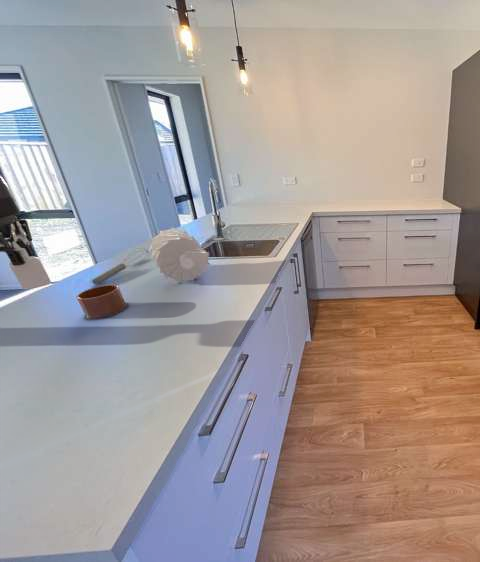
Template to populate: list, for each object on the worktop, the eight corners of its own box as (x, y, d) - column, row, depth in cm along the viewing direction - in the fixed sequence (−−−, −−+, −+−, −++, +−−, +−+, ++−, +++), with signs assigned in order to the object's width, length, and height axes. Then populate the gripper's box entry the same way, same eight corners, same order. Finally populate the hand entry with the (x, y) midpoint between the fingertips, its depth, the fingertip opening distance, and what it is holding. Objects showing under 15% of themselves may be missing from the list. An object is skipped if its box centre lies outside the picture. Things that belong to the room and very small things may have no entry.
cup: (80, 321, 92) (70, 301, 89) (93, 307, 101) (84, 288, 98) (121, 314, 96) (112, 294, 93) (129, 300, 104) (122, 282, 101)
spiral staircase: (182, 294, 116) (169, 273, 133) (221, 266, 123) (204, 249, 139) (144, 260, 104) (135, 242, 121) (189, 231, 110) (174, 217, 127)
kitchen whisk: (84, 288, 115) (76, 272, 112) (144, 258, 146) (139, 245, 143) (99, 287, 115) (93, 272, 112) (156, 258, 146) (152, 245, 143)
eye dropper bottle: (30, 284, 85) (7, 243, 80) (54, 281, 86) (34, 241, 81) (19, 290, 81) (-5, 248, 76) (45, 287, 82) (23, 245, 78)
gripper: (-13, 194, 78) (21, 256, 85) (-56, 202, 66) (-13, 273, 73) (26, 192, 81) (55, 252, 88) (-9, 199, 69) (28, 268, 76)
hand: (24, 261), depth 80 cm, fingers closed on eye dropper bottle, 4 cm apart
